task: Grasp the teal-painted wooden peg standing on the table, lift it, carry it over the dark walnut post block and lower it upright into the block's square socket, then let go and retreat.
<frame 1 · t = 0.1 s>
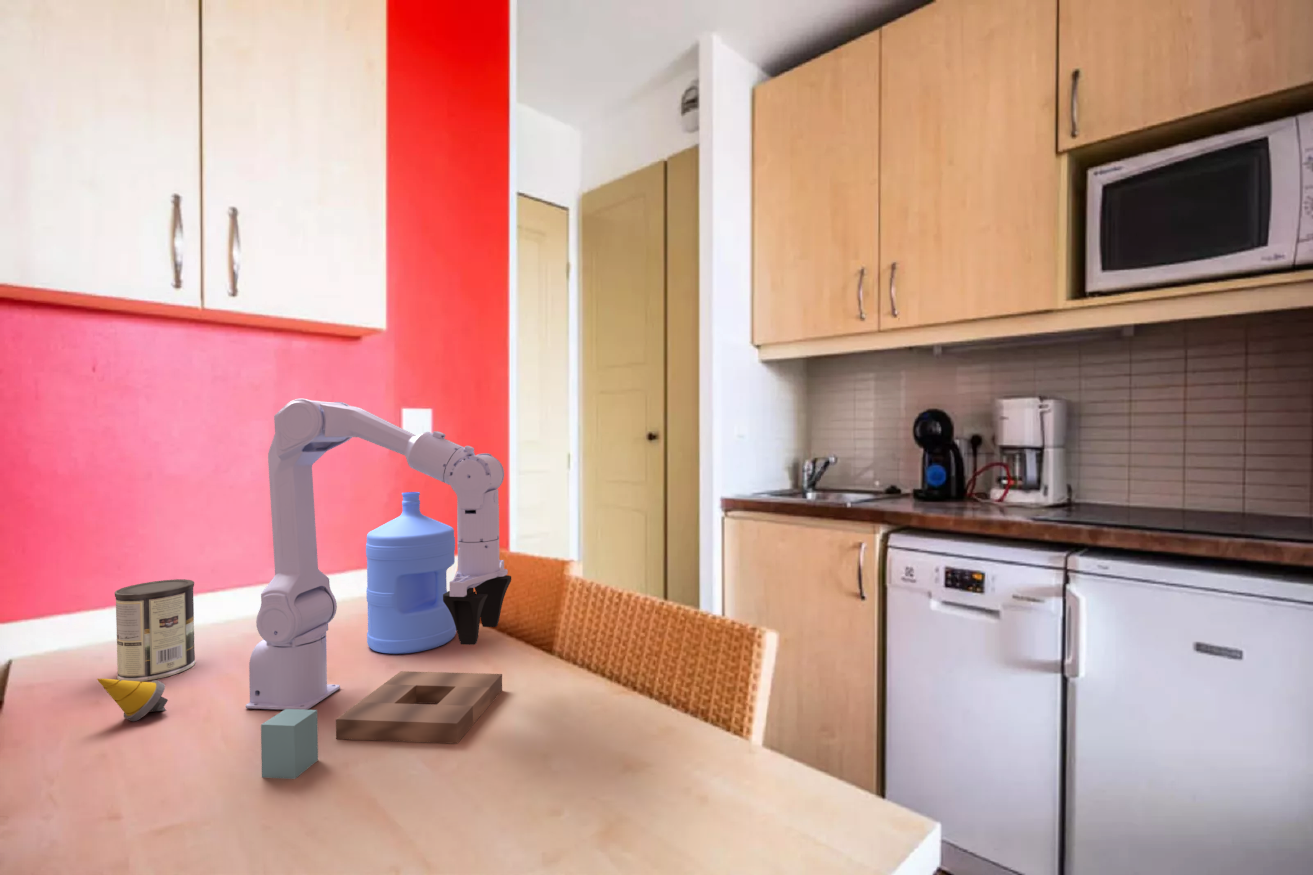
hand: (479, 634, 87), 10 cm above the table, fingers open, 7 cm apart
rail peg: (290, 768, 71), on the table
coffee can: (156, 671, 102), on the table
drill bit: (136, 721, 84), on the table
post block: (426, 712, 85), on the table
water jug: (412, 642, 116), on the table
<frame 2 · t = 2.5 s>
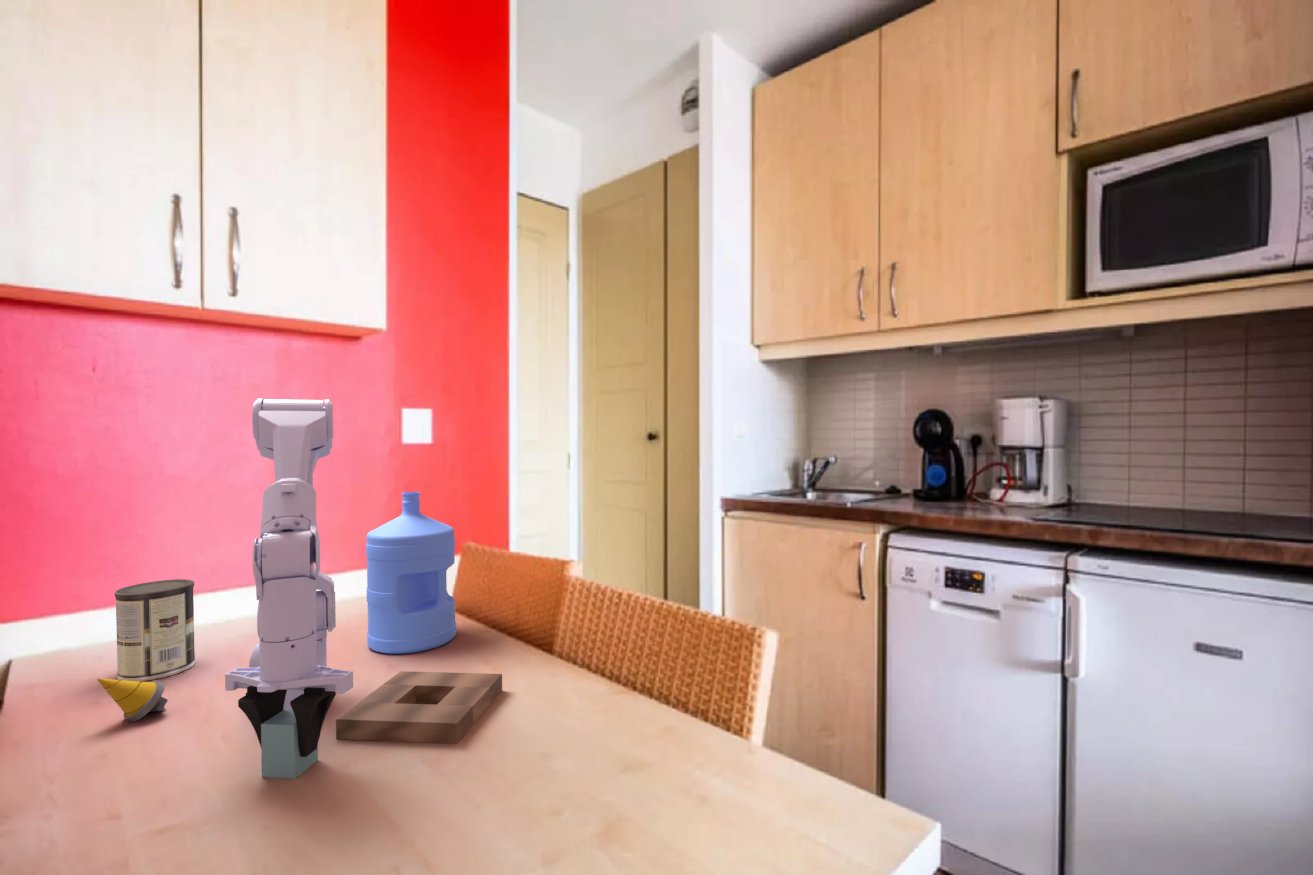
hand: (290, 751, 71), 2 cm above the table, fingers closed on rail peg, 4 cm apart
rail peg: (290, 768, 71), on the table, touching gripper
everything else where it was.
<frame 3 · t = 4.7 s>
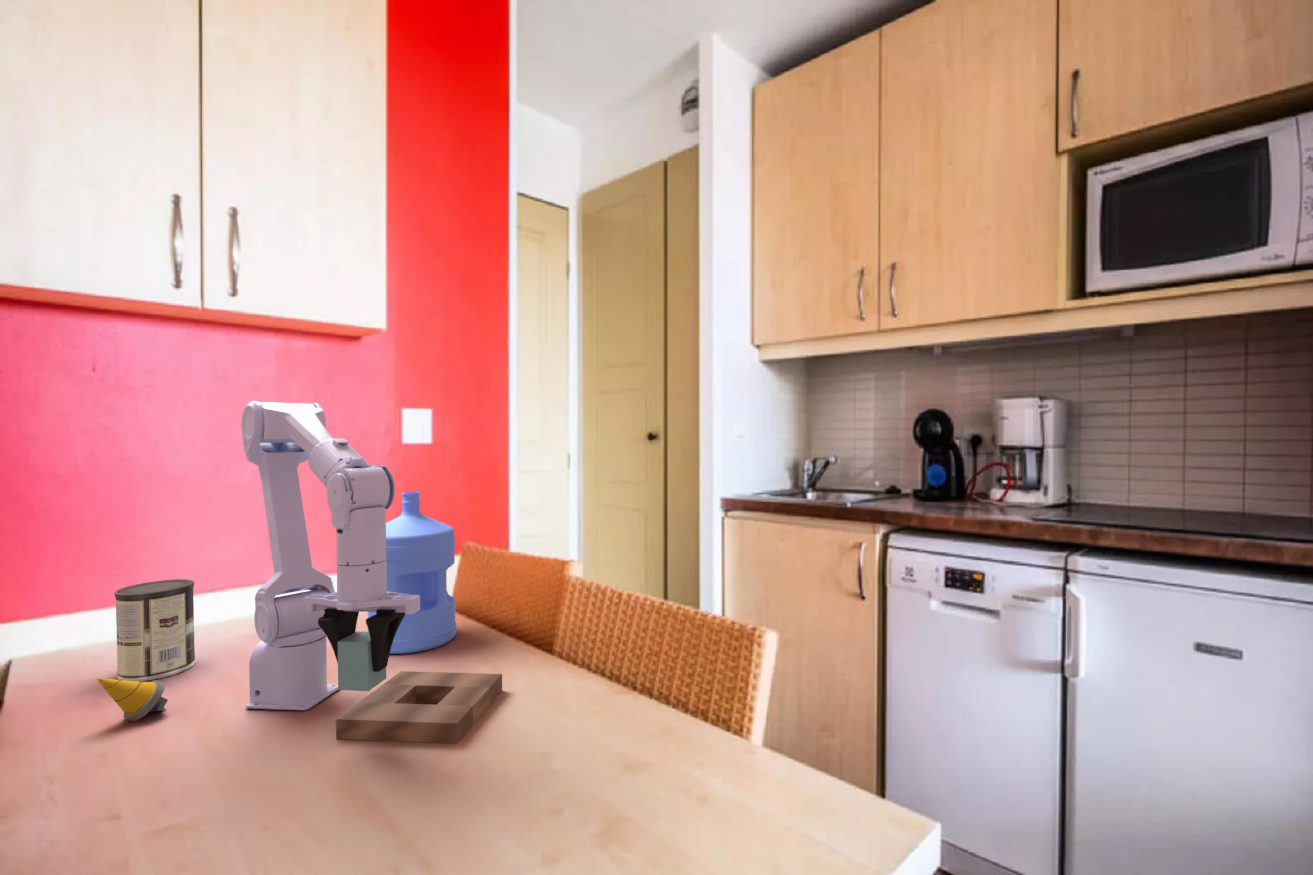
hand: (363, 668, 78), 9 cm above the table, fingers closed on rail peg, 4 cm apart
rail peg: (362, 684, 78), point 7 cm above the table, touching gripper
everything else where it was.
when the fingers open (3 cm above the table, at t = 7.0 s): rail peg drops 1 cm, resting in post block.
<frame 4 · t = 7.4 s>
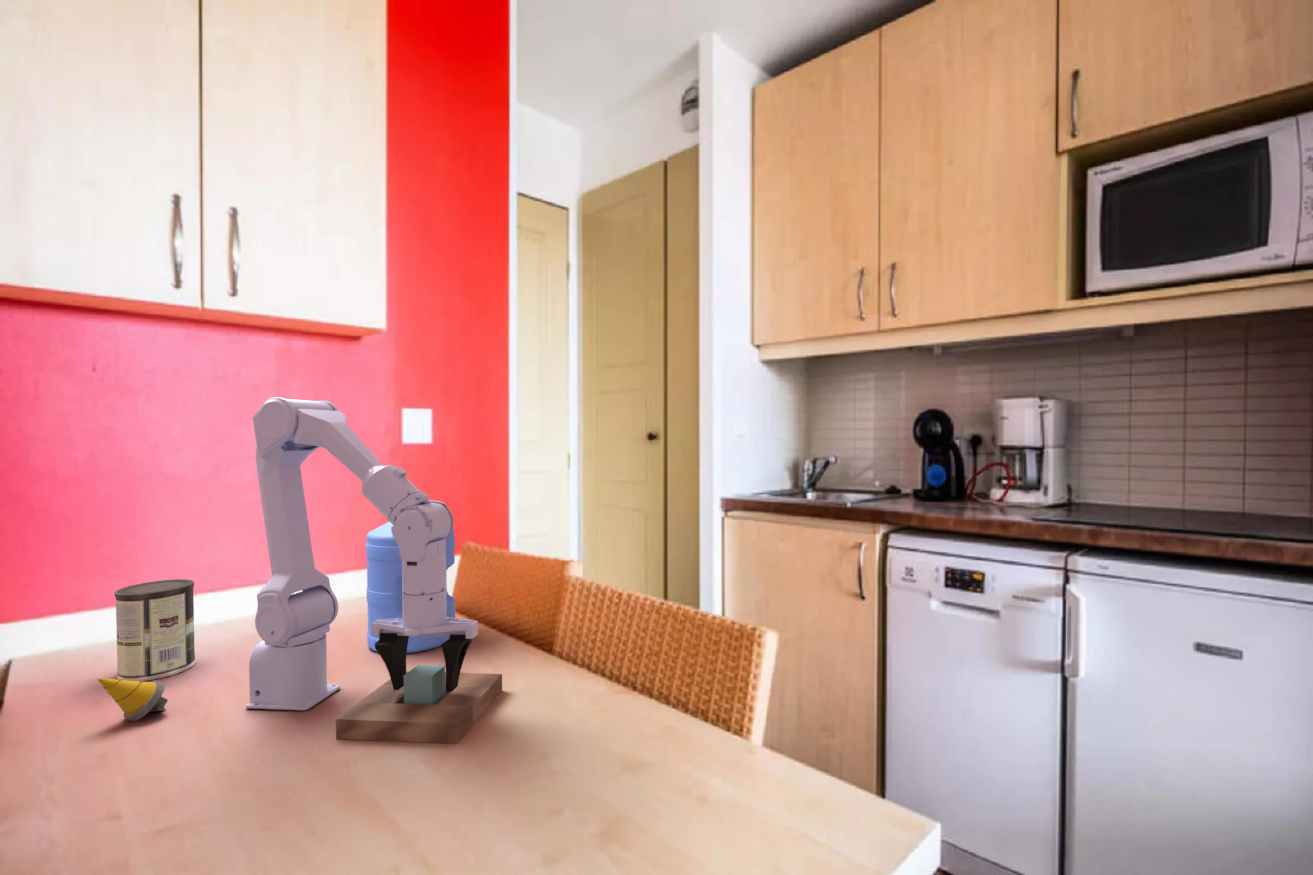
hand: (425, 688, 85), 3 cm above the table, fingers open, 7 cm apart
rail peg: (425, 713, 85), resting in post block
everything else where it was.
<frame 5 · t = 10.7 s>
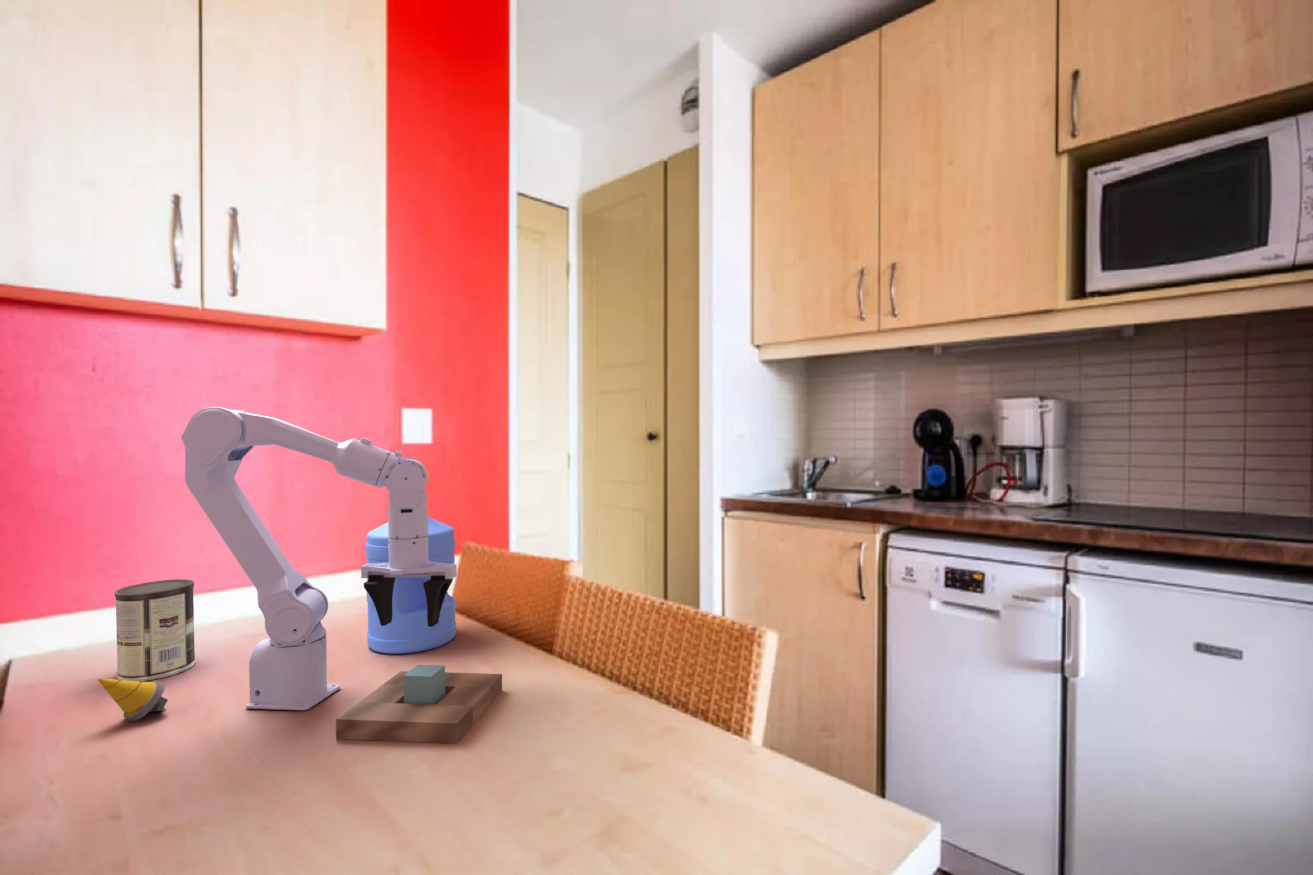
hand: (409, 624, 95), 9 cm above the table, fingers open, 7 cm apart
nothing on the table moved.
at the end: rail peg 0.2 cm off-centre on the post block, point 0.0 cm above the post block's base; rail peg tilted 0°; the gripper is holding nothing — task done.
